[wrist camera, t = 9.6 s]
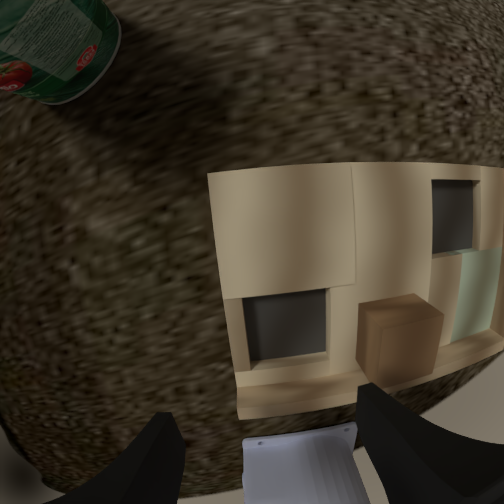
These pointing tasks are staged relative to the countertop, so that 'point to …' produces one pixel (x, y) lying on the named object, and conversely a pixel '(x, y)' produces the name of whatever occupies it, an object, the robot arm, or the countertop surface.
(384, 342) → the block
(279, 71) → the countertop surface
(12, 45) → the canned tomato
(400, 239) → the wooden flat frame
